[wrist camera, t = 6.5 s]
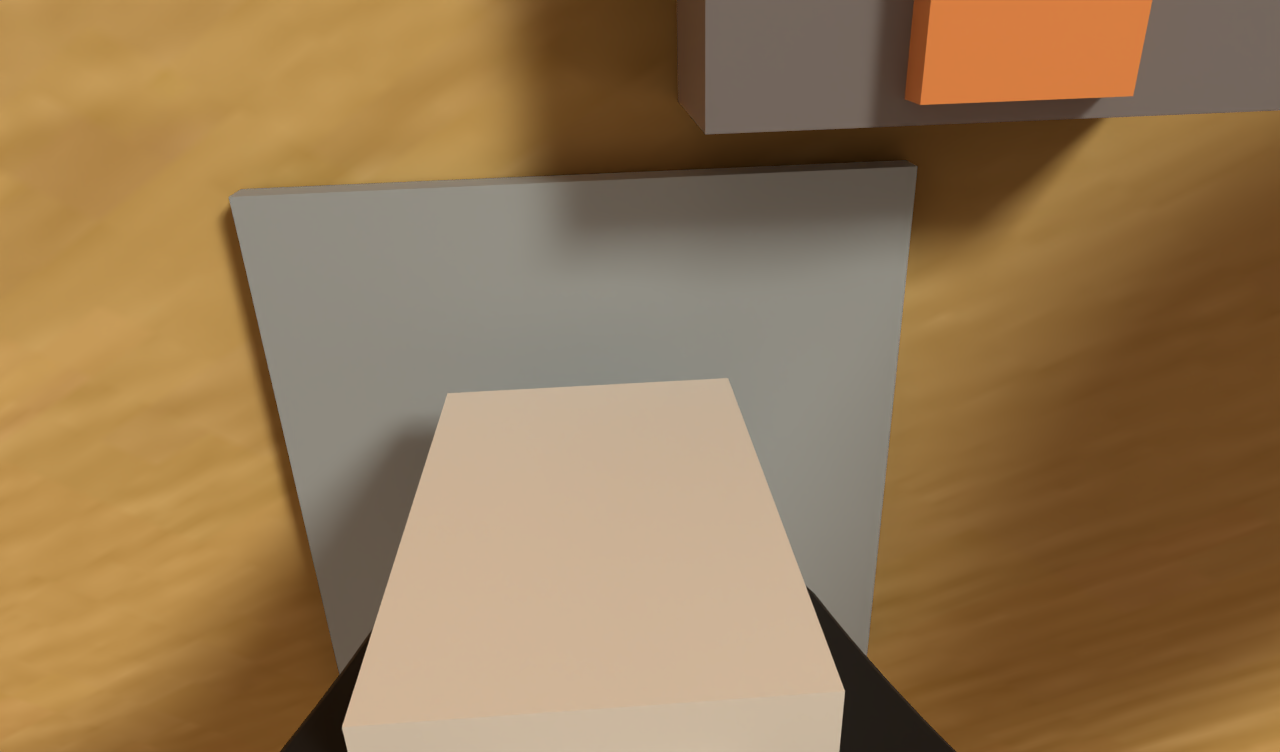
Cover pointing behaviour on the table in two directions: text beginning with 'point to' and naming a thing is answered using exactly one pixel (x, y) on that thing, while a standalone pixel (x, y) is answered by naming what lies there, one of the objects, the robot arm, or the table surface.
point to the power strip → (858, 62)
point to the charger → (595, 586)
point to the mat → (583, 336)
